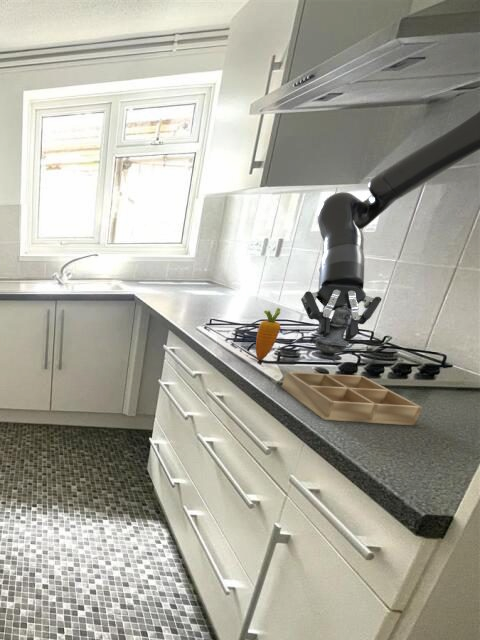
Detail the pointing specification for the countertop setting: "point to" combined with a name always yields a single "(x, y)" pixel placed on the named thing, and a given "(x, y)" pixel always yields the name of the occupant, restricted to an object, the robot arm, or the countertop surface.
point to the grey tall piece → (334, 336)
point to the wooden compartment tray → (350, 398)
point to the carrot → (267, 334)
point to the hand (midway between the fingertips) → (337, 336)
